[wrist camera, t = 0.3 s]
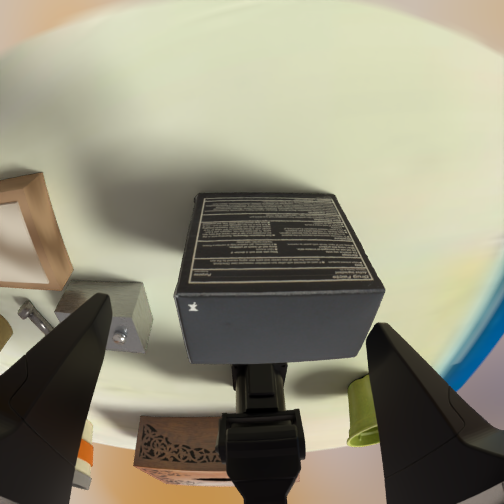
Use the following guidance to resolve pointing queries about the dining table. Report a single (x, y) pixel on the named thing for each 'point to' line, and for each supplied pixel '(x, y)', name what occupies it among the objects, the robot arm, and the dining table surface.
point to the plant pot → (362, 414)
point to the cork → (4, 332)
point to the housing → (114, 311)
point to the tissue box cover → (181, 451)
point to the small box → (273, 280)
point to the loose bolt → (34, 317)
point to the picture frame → (30, 237)
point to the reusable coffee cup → (84, 459)
